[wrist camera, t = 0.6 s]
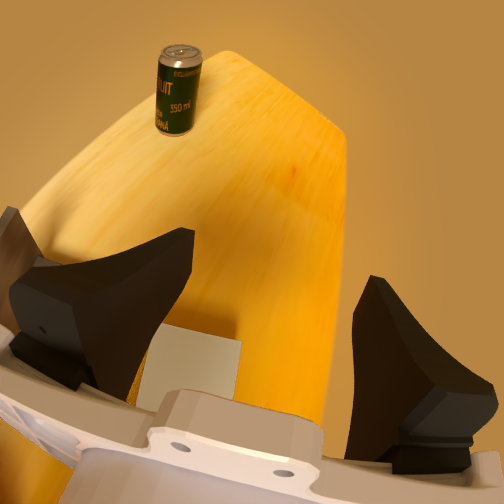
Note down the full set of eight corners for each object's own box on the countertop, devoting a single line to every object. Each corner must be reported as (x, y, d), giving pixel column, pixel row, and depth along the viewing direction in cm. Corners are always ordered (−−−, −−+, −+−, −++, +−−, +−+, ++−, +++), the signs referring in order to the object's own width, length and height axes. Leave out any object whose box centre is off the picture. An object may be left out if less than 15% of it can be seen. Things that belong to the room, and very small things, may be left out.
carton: (215, 458, 23) (222, 463, 20) (134, 441, 22) (127, 442, 19) (233, 352, 28) (242, 341, 25) (158, 335, 28) (156, 321, 24)
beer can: (179, 112, 44) (187, 41, 34) (200, 130, 43) (212, 55, 33) (148, 123, 42) (151, 48, 32) (167, 143, 40) (173, 63, 30)
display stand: (97, 464, 20) (63, 477, 12) (-15, 409, 19) (-71, 393, 11) (144, 294, 29) (134, 242, 22) (39, 260, 28) (7, 205, 20)
